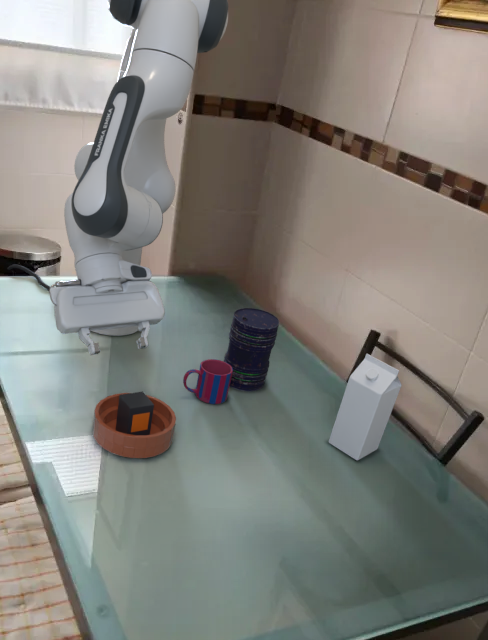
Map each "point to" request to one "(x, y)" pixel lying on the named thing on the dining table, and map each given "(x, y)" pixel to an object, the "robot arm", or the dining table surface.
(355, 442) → the milk carton
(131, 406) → the box
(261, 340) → the dark blue cylinder
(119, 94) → the robot arm
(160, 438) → the bowl
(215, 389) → the mug
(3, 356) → the dining table surface
